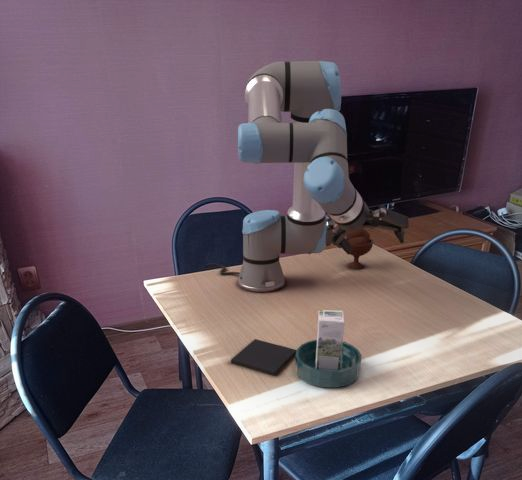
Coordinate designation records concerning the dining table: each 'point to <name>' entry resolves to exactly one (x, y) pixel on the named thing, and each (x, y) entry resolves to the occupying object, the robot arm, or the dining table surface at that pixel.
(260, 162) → the robot arm
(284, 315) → the dining table surface
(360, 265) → the ice cream bowl
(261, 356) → the mat
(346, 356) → the bowl
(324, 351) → the syrup box
